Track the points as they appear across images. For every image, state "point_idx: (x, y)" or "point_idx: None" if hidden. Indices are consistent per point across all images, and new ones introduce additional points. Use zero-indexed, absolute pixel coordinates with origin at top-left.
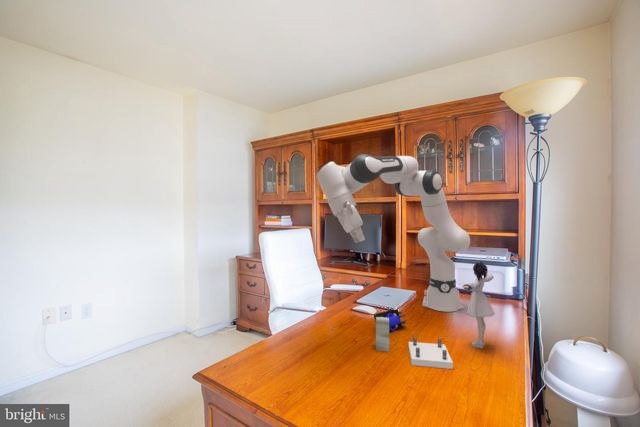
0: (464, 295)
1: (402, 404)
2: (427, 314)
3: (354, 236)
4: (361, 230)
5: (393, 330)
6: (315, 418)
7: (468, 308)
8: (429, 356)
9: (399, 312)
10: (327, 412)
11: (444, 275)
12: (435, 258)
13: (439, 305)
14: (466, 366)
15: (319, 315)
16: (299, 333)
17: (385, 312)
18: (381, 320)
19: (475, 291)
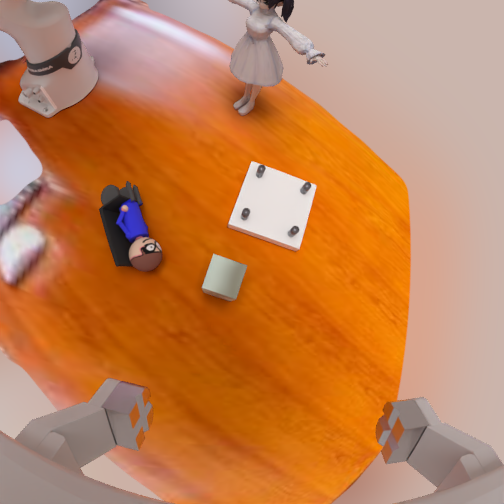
0: None
1: (385, 307)
2: (87, 123)
3: (95, 442)
4: (479, 444)
5: (147, 228)
6: None
7: (250, 73)
8: (293, 212)
9: (118, 192)
10: None
11: (65, 36)
12: (32, 21)
13: (79, 89)
14: (306, 164)
15: (36, 377)
16: None
17: (108, 228)
18: (228, 280)
19: (264, 39)
